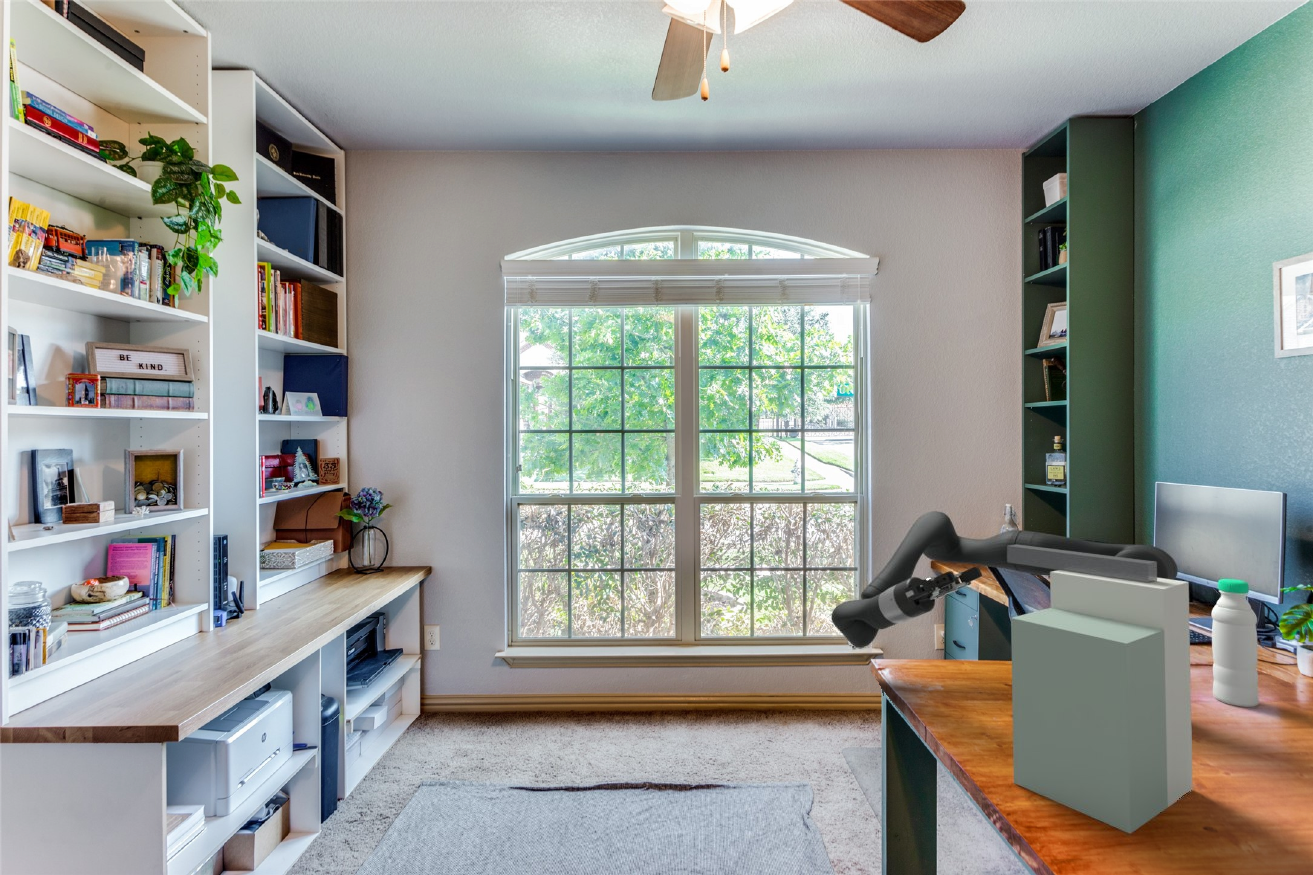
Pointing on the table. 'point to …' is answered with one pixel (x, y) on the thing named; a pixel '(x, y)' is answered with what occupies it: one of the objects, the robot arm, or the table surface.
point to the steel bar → (1084, 563)
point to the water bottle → (1234, 646)
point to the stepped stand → (1104, 697)
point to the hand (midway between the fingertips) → (966, 573)
